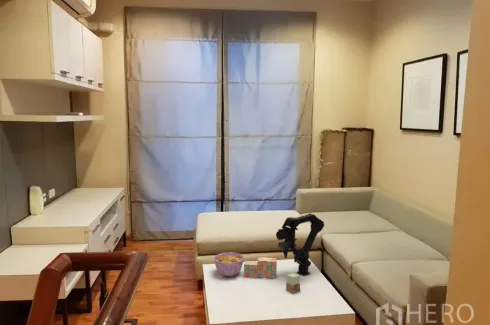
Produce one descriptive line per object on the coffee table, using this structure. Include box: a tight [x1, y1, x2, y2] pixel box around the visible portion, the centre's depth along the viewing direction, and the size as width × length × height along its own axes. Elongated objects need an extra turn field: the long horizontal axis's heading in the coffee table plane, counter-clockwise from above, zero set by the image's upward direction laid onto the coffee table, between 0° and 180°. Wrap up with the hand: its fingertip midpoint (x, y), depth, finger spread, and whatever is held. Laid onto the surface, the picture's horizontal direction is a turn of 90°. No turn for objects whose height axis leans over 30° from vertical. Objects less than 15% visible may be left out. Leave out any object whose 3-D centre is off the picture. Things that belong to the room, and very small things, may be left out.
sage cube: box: [286, 272, 300, 285], centre depth 230 cm, size 5×5×5 cm
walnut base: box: [285, 281, 301, 295], centre depth 230 cm, size 6×6×5 cm
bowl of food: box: [213, 251, 245, 277], centre depth 256 cm, size 20×20×12 cm
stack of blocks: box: [243, 256, 278, 280], centre depth 252 cm, size 21×6×12 cm, turn 83°
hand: (290, 260), depth 249 cm, fingers open, 9 cm apart
